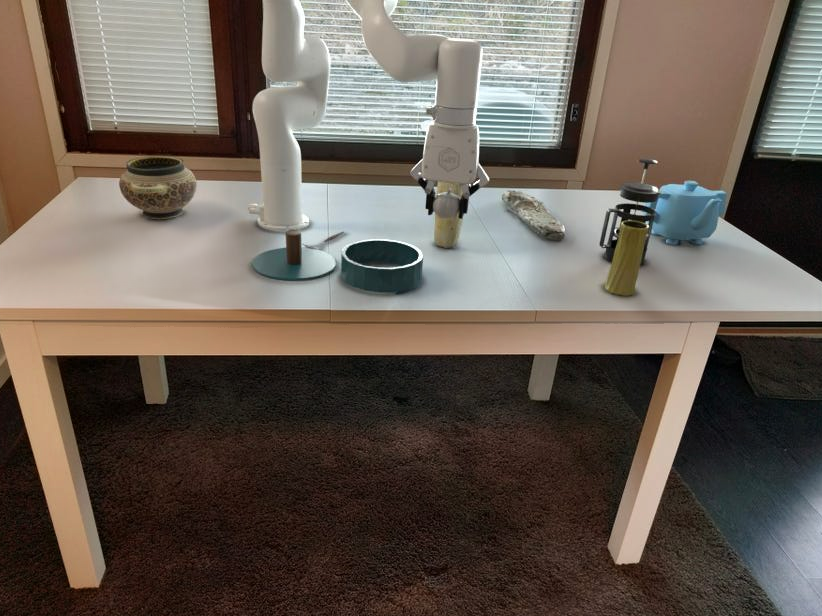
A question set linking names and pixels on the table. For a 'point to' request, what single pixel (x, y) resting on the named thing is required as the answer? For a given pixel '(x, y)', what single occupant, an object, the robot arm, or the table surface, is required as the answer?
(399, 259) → the pot
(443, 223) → the food model
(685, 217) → the teapot
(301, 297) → the table surface
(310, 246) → the fork
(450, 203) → the garlic
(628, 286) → the vase
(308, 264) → the lid
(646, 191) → the french press
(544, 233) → the elongated rock
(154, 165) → the ceramic bowl
